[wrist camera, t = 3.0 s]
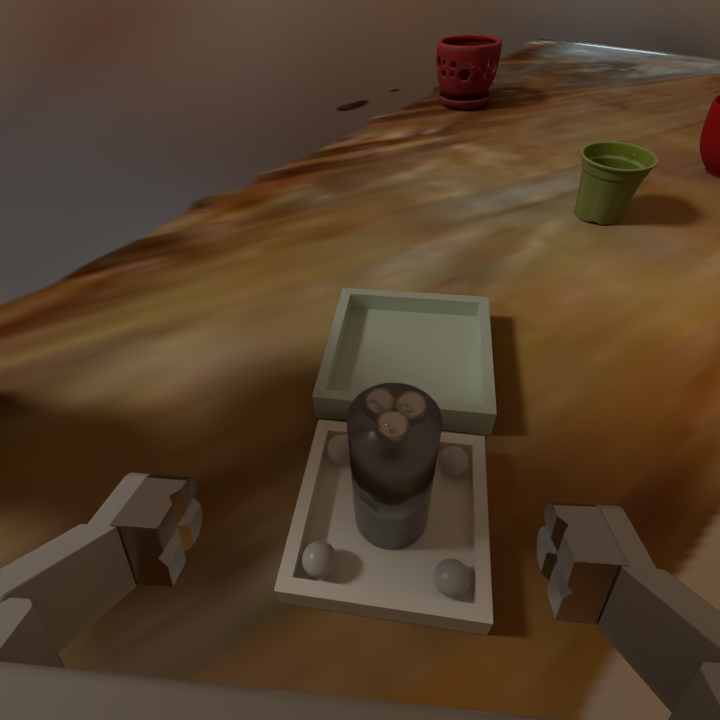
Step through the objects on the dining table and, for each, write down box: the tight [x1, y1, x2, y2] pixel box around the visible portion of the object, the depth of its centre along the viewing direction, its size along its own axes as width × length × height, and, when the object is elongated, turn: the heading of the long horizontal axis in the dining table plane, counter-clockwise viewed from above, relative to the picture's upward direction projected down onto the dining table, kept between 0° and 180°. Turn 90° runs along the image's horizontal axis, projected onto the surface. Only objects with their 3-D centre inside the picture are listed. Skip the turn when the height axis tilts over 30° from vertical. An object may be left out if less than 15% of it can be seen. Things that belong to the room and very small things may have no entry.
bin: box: [312, 288, 497, 435], centre depth 46 cm, size 16×16×3 cm
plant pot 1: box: [436, 35, 502, 109], centre depth 99 cm, size 13×13×12 cm
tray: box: [274, 419, 493, 635], centre depth 35 cm, size 14×14×3 cm
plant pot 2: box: [575, 141, 658, 225], centre depth 64 cm, size 9×9×9 cm
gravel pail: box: [346, 383, 442, 550], centre depth 30 cm, size 6×6×13 cm
